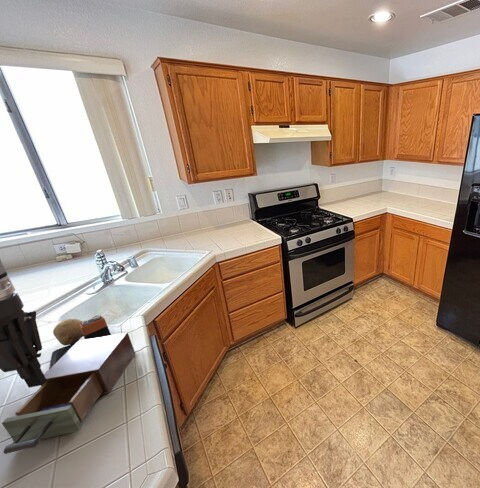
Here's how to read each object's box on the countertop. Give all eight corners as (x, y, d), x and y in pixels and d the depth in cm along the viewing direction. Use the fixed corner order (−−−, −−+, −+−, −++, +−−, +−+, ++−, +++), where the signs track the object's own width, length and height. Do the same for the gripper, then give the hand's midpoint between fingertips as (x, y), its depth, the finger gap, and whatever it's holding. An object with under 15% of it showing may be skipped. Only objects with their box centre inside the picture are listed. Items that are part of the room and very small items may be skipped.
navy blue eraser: (39, 422, 67) (35, 415, 66) (46, 414, 69) (42, 407, 68) (80, 414, 68) (76, 407, 68) (86, 406, 71) (82, 399, 70)
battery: (112, 338, 101) (103, 316, 98) (90, 348, 96) (80, 325, 93) (108, 334, 103) (99, 312, 100) (86, 344, 98) (76, 322, 95)
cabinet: (109, 393, 76) (98, 369, 73) (51, 405, 74) (37, 380, 71) (135, 353, 92) (127, 332, 89) (88, 362, 89) (78, 340, 86)
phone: (81, 340, 99) (79, 362, 88) (82, 343, 99) (81, 364, 88) (52, 351, 94) (47, 375, 83) (53, 353, 94) (48, 378, 83)
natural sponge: (90, 331, 106) (81, 310, 103) (92, 341, 100) (83, 319, 97) (60, 342, 100) (49, 321, 97) (60, 354, 94) (49, 331, 91)
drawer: (62, 455, 60) (49, 433, 57) (-8, 471, 58) (-25, 449, 55) (113, 381, 80) (104, 362, 77) (62, 391, 77) (52, 371, 75)
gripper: (-18, 313, 50) (34, 403, 58) (36, 282, 62) (73, 361, 70) (-67, 320, 49) (-7, 412, 57) (-3, 287, 61) (40, 367, 69)
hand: (37, 383), depth 63 cm, fingers closed
